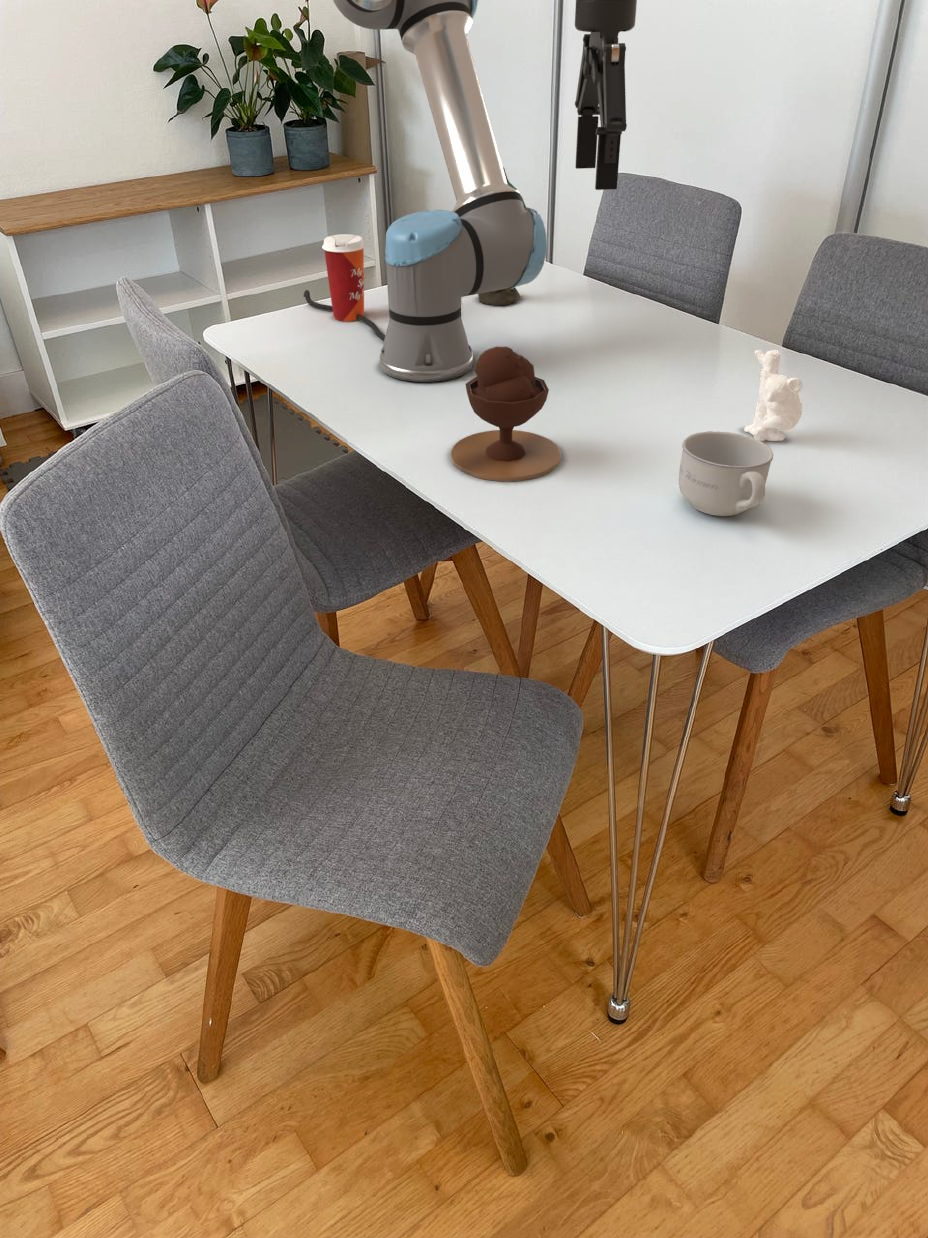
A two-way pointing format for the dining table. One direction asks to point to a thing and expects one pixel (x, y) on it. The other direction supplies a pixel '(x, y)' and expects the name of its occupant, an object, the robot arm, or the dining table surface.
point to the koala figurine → (775, 400)
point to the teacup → (723, 472)
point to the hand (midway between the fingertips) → (595, 178)
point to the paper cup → (345, 275)
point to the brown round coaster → (533, 464)
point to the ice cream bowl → (505, 397)
